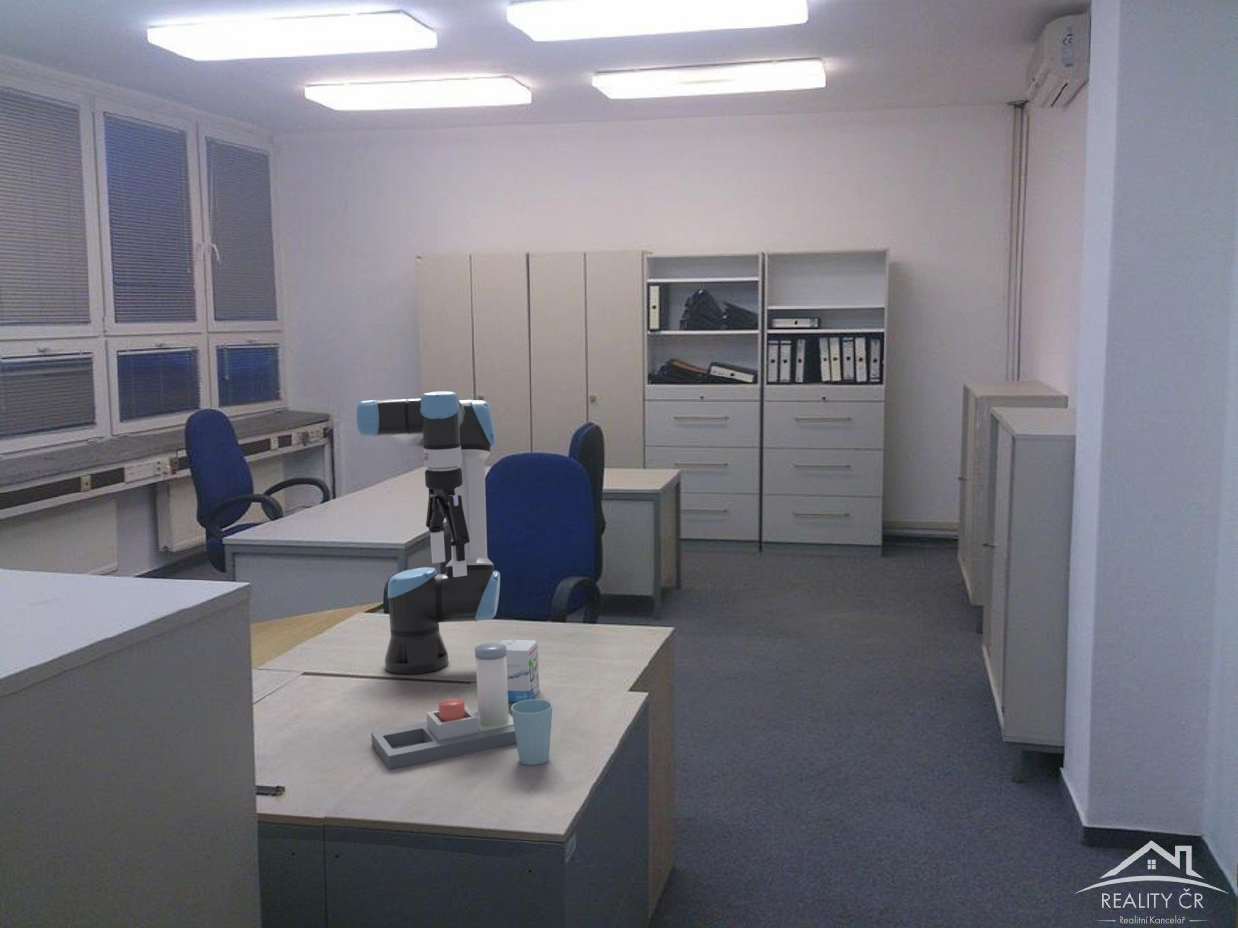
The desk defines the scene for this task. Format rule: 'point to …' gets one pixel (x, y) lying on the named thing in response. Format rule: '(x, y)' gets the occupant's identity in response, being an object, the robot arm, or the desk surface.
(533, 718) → the cup
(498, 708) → the cartridge
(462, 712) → the plunger
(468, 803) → the desk surface
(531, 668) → the ink box
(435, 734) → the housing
